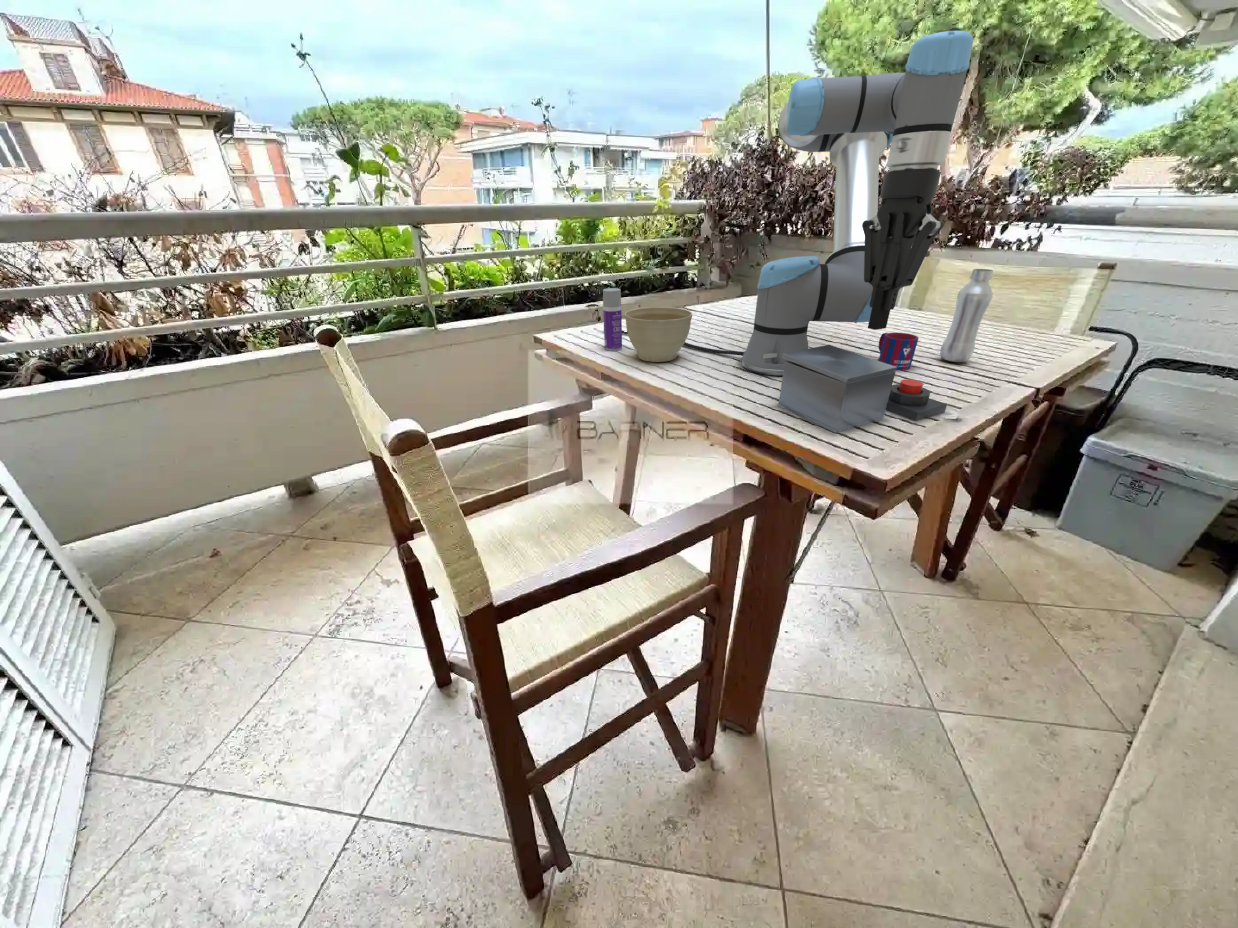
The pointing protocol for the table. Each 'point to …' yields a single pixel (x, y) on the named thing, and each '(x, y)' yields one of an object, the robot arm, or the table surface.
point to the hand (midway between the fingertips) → (876, 328)
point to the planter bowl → (658, 331)
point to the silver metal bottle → (967, 317)
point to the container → (612, 319)
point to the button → (910, 386)
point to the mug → (897, 349)
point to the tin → (833, 398)
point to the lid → (839, 363)
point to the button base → (913, 404)
